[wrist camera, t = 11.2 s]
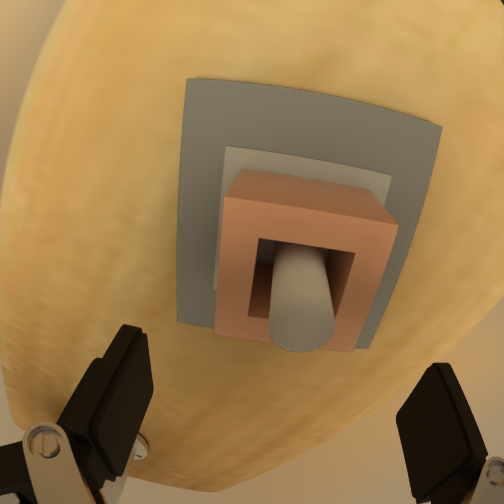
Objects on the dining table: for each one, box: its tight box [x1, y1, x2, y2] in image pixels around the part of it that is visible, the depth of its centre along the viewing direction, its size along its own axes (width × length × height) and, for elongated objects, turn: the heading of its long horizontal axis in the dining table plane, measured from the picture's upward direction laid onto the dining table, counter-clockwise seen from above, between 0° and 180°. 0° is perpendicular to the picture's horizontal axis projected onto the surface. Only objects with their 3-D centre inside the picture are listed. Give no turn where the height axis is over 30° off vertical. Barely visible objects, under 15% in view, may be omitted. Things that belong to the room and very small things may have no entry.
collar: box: [214, 168, 399, 352], centre depth 16 cm, size 7×7×5 cm
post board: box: [177, 78, 442, 352], centre depth 15 cm, size 16×14×10 cm
